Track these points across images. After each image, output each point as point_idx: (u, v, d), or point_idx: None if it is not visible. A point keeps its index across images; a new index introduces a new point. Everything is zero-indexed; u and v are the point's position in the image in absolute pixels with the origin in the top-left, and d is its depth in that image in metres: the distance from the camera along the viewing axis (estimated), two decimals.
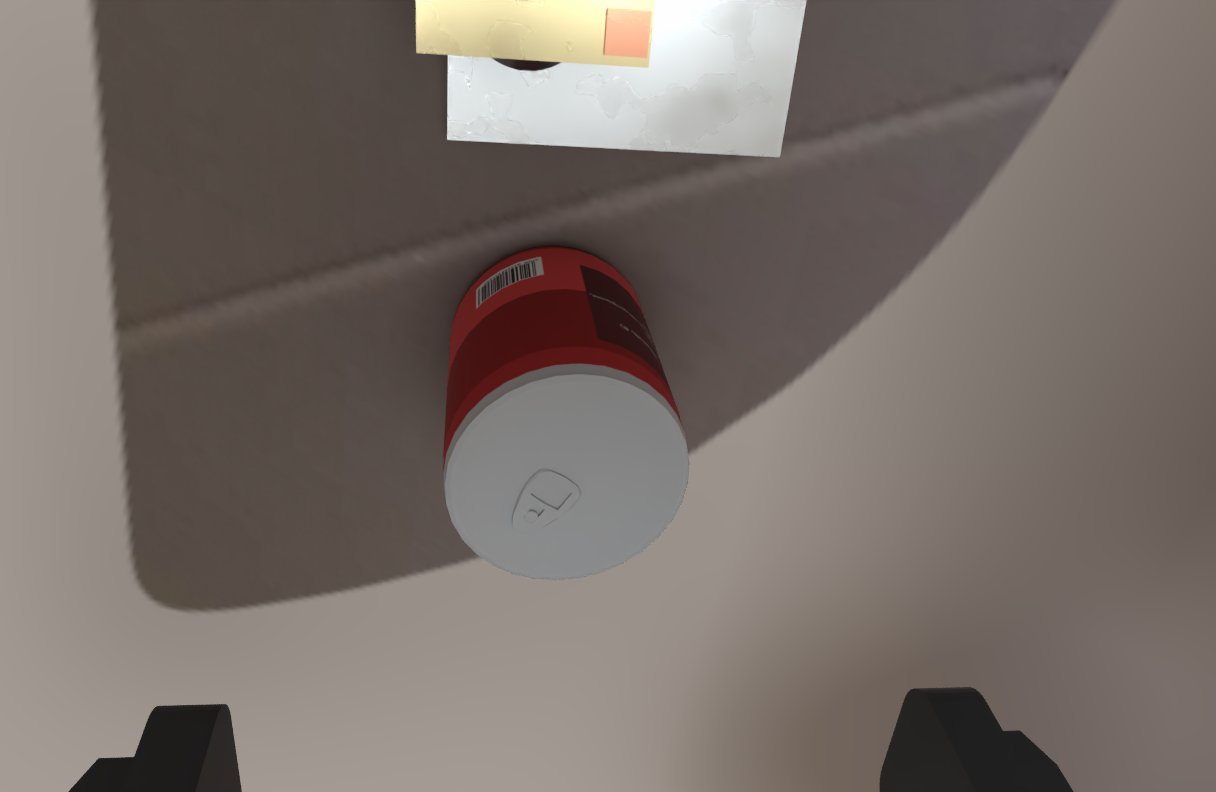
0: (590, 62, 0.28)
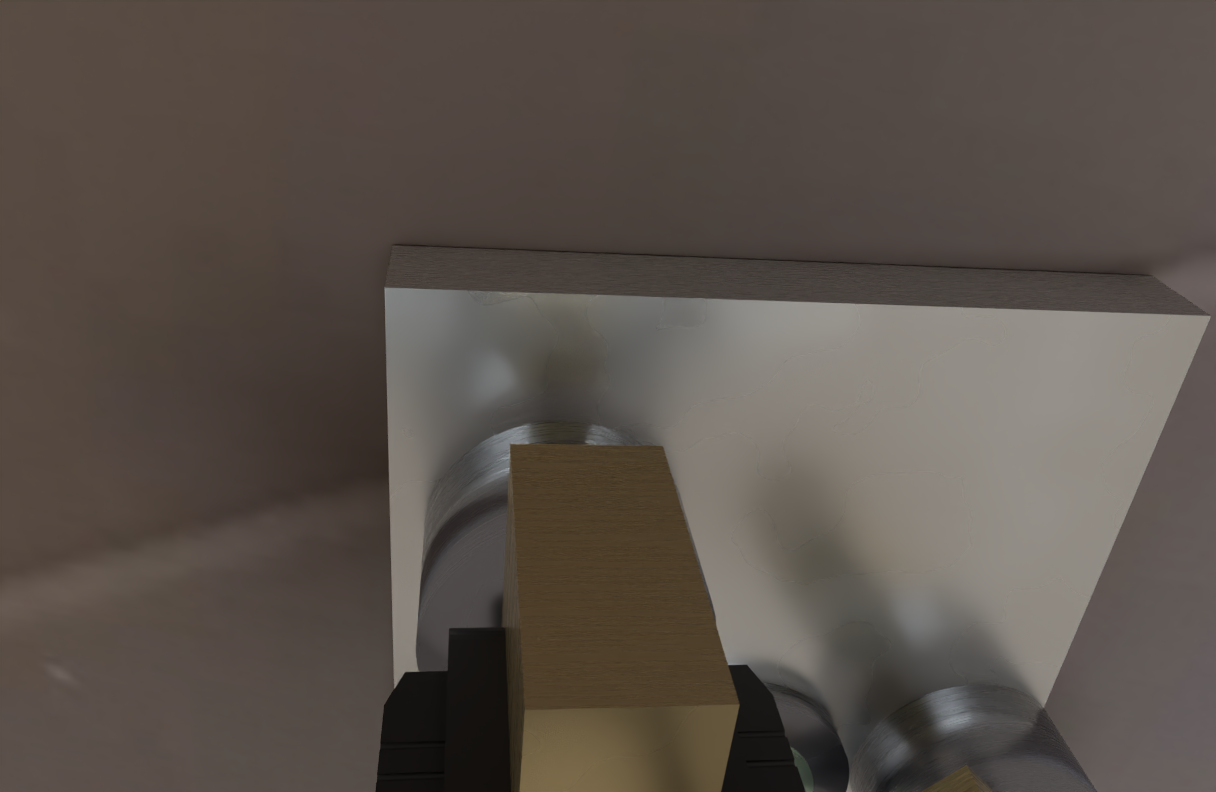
0: None
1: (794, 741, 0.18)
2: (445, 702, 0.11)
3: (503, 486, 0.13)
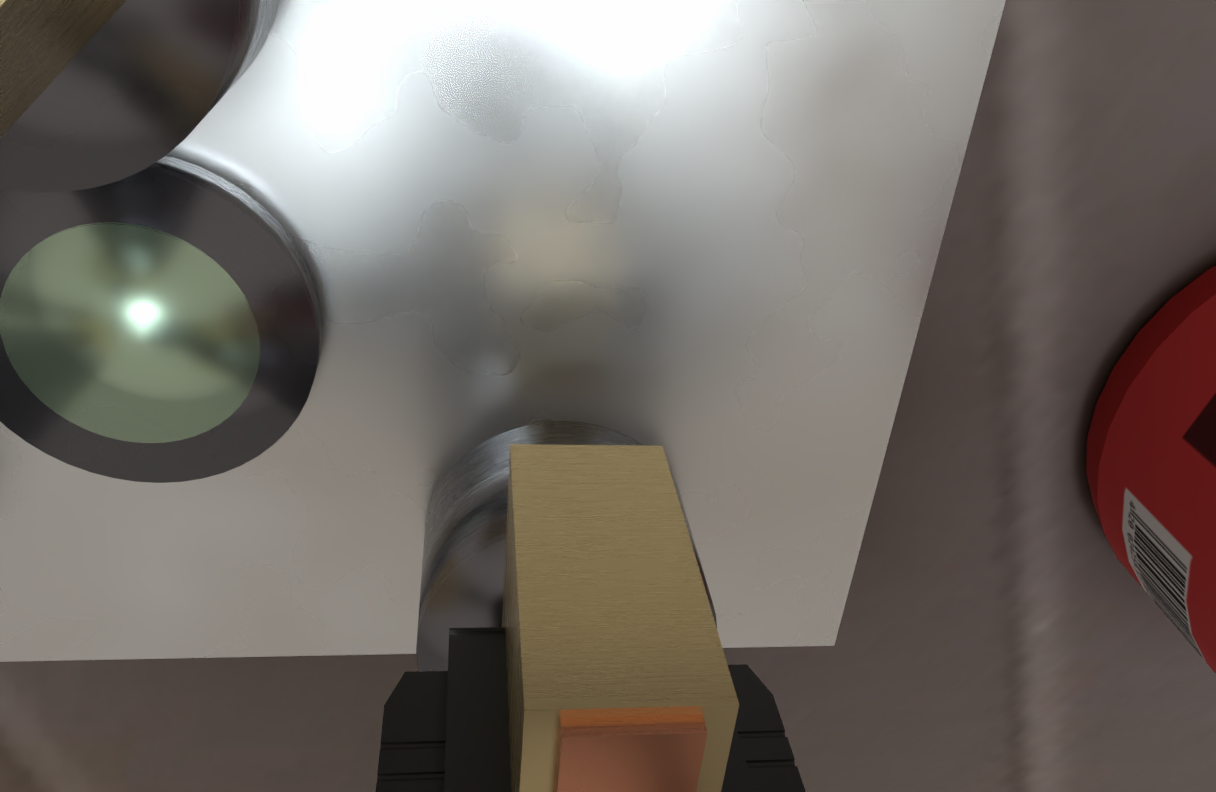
0: None
1: (3, 262, 0.12)
2: (446, 702, 0.11)
3: None
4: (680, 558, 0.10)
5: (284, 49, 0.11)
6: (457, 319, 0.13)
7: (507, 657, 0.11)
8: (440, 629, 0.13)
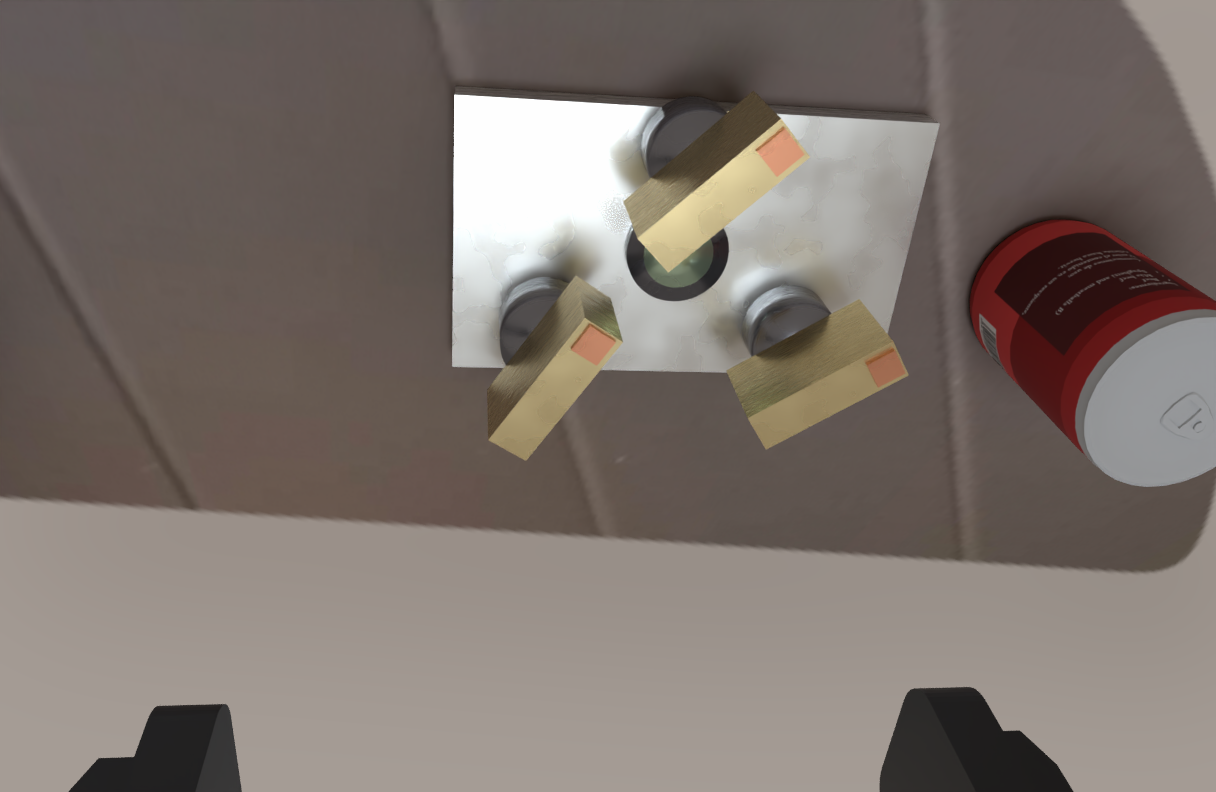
0: (870, 393, 0.40)
1: None
2: None
3: None
4: None
5: None
6: (764, 250, 0.44)
7: (829, 335, 0.41)
8: (792, 317, 0.42)
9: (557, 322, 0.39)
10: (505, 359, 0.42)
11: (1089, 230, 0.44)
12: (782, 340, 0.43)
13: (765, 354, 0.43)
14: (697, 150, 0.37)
